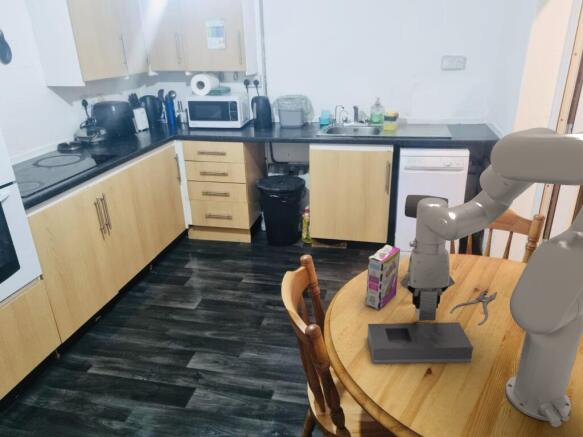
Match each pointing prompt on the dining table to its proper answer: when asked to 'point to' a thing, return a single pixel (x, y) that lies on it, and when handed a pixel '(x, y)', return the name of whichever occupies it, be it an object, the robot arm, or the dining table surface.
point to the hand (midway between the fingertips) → (425, 305)
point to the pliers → (480, 299)
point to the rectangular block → (419, 343)
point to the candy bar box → (382, 276)
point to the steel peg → (427, 304)
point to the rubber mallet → (413, 202)
